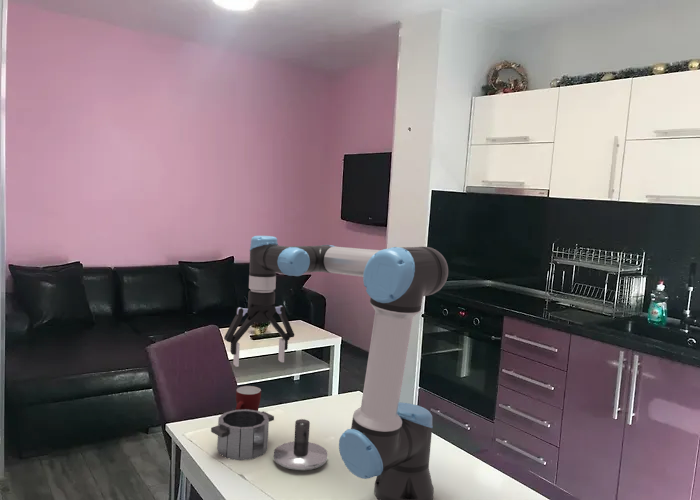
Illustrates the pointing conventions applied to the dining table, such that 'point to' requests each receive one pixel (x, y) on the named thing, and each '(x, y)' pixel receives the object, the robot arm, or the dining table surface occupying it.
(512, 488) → the dining table surface
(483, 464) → the dining table surface
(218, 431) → the pot
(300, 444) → the lid
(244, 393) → the mug
